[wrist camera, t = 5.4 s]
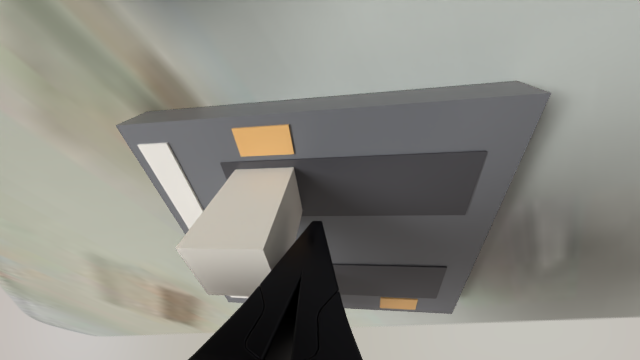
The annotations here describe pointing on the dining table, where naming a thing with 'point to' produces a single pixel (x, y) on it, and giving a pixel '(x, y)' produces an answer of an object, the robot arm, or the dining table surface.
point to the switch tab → (243, 231)
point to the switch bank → (361, 176)
